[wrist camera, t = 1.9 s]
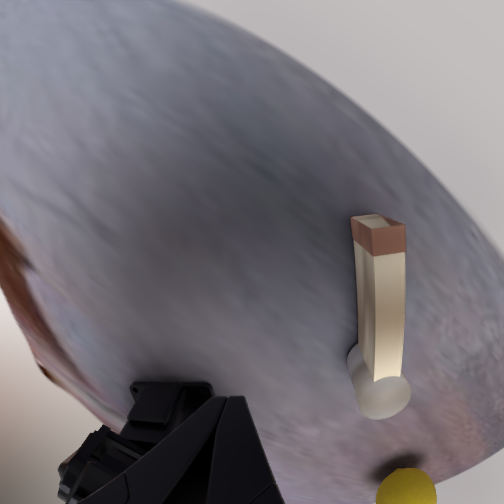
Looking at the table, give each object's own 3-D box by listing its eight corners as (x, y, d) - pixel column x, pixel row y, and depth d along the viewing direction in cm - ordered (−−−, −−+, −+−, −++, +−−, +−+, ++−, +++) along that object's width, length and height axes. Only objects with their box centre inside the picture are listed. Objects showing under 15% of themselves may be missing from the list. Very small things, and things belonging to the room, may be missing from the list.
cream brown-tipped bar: (388, 372, 19) (408, 412, 14) (346, 379, 19) (358, 423, 15) (388, 212, 16) (420, 223, 12) (337, 218, 17) (356, 231, 12)
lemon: (432, 459, 21) (455, 517, 13) (390, 488, 22) (404, 546, 15) (403, 445, 21) (427, 513, 13) (358, 477, 22) (369, 543, 14)
